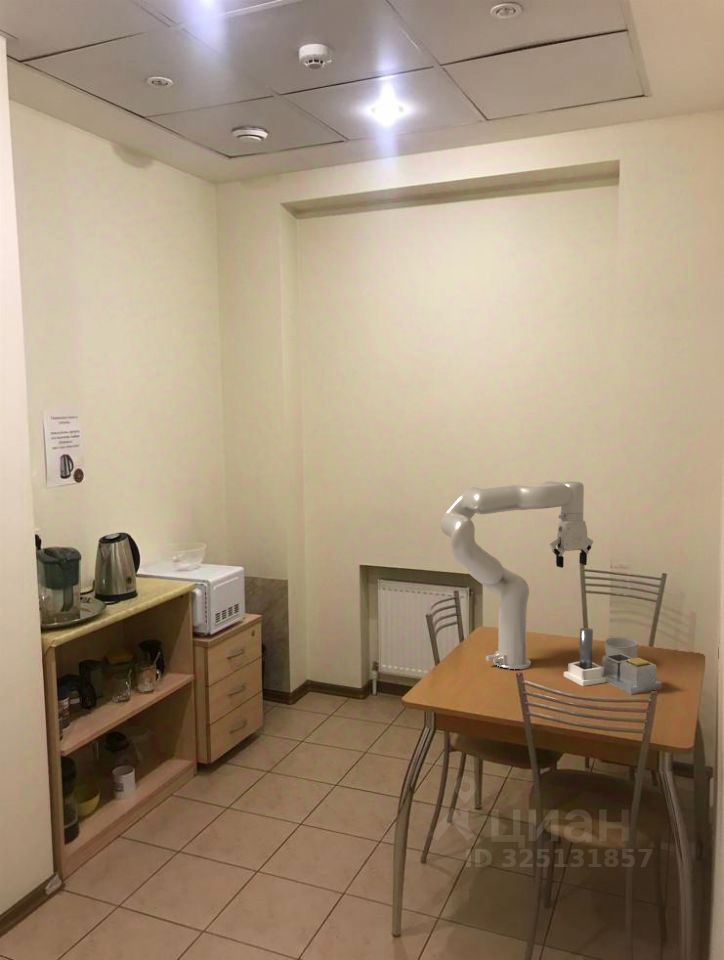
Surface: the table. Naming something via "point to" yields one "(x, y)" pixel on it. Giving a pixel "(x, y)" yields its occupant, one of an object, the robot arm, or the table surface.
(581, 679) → the white square socket
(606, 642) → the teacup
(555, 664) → the table surface
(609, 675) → the block
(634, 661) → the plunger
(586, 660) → the blue-grey cylinder
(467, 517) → the robot arm
